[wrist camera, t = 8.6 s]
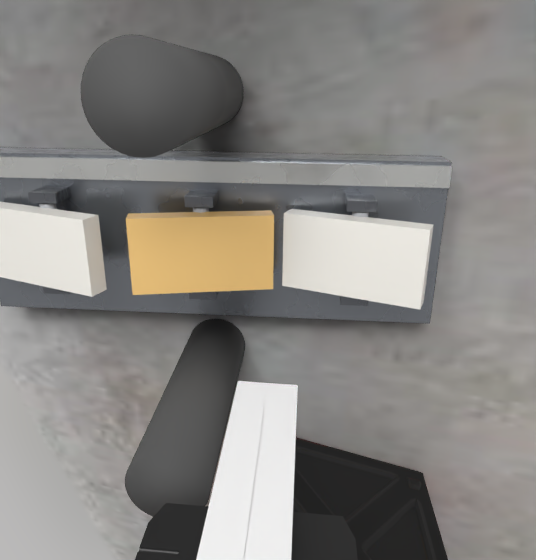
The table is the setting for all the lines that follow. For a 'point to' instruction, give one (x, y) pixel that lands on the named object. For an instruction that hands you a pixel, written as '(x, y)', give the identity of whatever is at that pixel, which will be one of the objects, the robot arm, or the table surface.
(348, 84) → the table surface
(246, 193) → the panel
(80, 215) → the paddle far
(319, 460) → the red boxy piece
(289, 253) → the paddle near
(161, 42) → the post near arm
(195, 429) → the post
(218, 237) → the paddle mid
